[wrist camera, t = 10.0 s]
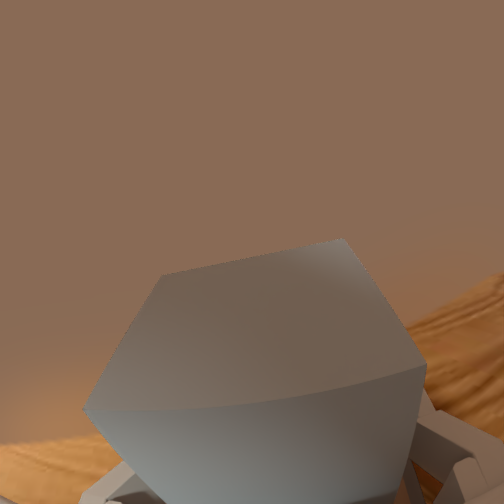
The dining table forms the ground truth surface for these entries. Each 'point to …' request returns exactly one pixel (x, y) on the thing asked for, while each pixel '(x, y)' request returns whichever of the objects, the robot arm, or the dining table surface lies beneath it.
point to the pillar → (265, 384)
